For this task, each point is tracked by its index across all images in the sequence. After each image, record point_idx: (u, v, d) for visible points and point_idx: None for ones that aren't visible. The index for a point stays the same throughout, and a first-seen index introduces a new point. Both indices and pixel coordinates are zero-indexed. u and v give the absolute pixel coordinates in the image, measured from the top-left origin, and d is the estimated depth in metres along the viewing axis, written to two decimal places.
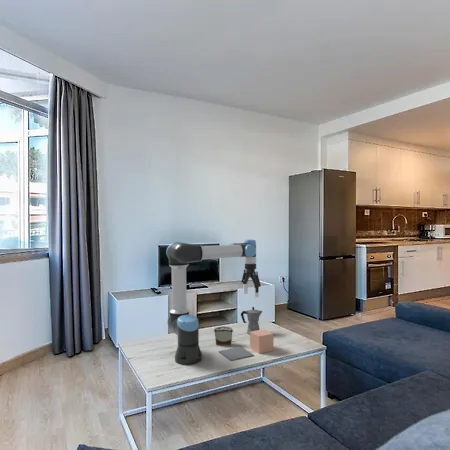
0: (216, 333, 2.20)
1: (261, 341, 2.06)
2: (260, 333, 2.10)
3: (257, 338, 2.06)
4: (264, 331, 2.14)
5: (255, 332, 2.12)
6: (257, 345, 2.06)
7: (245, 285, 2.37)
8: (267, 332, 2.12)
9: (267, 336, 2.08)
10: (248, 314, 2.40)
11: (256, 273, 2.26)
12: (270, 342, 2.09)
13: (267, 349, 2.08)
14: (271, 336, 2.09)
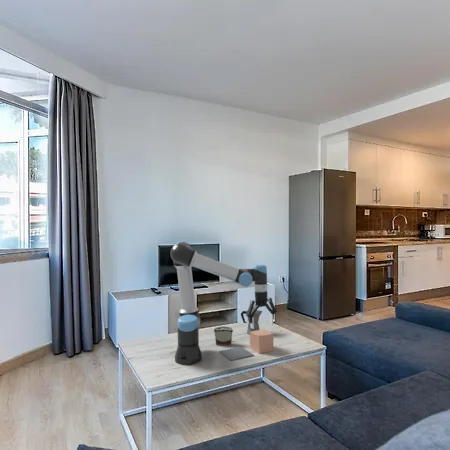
0: (216, 333, 2.20)
1: (261, 341, 2.06)
2: (260, 333, 2.10)
3: (257, 338, 2.06)
4: (264, 331, 2.14)
5: (255, 332, 2.12)
6: (257, 345, 2.06)
7: (270, 315, 2.15)
8: (267, 332, 2.12)
9: (267, 336, 2.08)
10: None
11: (251, 302, 2.08)
12: (270, 342, 2.09)
13: (267, 349, 2.08)
14: (271, 336, 2.09)
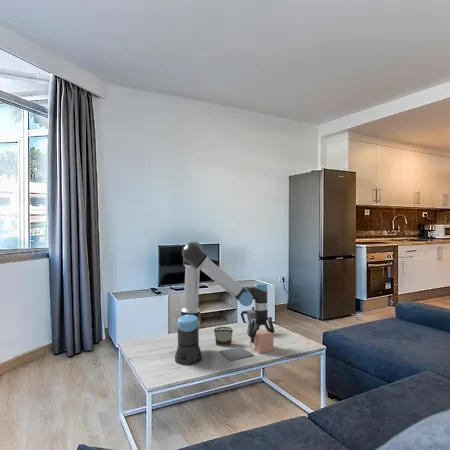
0: (216, 333, 2.20)
1: (261, 341, 2.06)
2: (260, 333, 2.10)
3: (257, 338, 2.06)
4: (264, 331, 2.14)
5: None
6: (257, 345, 2.06)
7: None
8: (267, 332, 2.12)
9: (267, 336, 2.08)
10: (248, 314, 2.40)
11: (252, 322, 2.08)
12: (270, 342, 2.09)
13: (267, 349, 2.08)
14: (271, 336, 2.09)
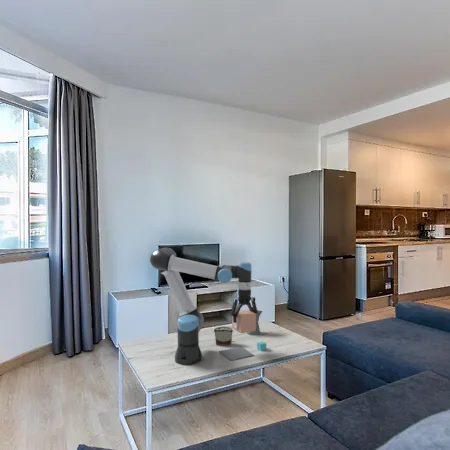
0: (216, 333, 2.20)
1: (244, 320, 2.02)
2: (243, 313, 2.06)
3: (239, 317, 2.02)
4: (247, 311, 2.10)
5: None
6: (239, 325, 2.02)
7: None
8: (250, 312, 2.08)
9: (250, 316, 2.03)
10: None
11: (234, 301, 2.04)
12: (252, 322, 2.04)
13: (249, 329, 2.04)
14: (254, 316, 2.05)
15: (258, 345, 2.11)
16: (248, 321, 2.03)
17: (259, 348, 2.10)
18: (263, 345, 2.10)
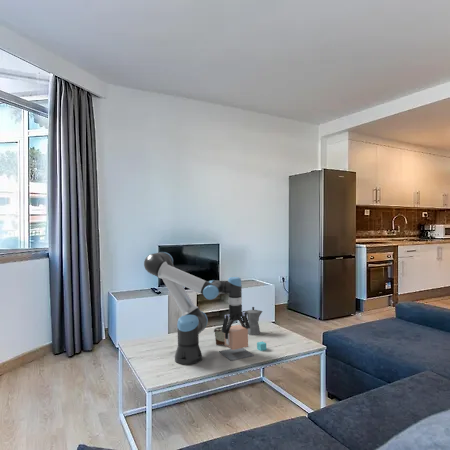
0: (216, 333, 2.20)
1: (235, 337, 1.99)
2: (234, 329, 2.03)
3: (231, 334, 1.99)
4: (239, 327, 2.07)
5: None
6: (231, 341, 1.99)
7: None
8: (242, 328, 2.05)
9: (241, 332, 2.01)
10: (248, 314, 2.40)
11: (225, 317, 2.01)
12: (244, 338, 2.02)
13: (241, 345, 2.01)
14: (245, 332, 2.02)
15: (258, 345, 2.11)
16: (240, 337, 2.00)
17: (259, 348, 2.10)
18: (263, 345, 2.10)
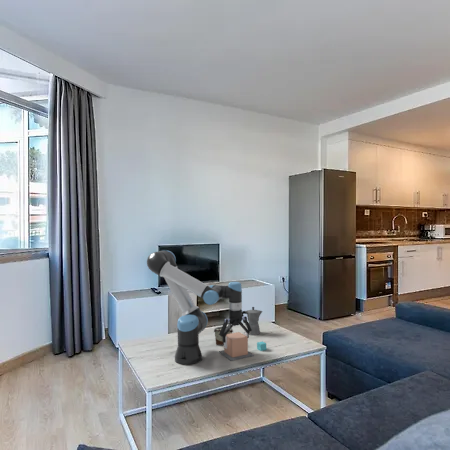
0: (216, 333, 2.20)
1: (235, 344, 1.99)
2: (234, 336, 2.03)
3: (230, 341, 1.99)
4: (239, 334, 2.07)
5: (229, 335, 2.05)
6: (230, 349, 2.00)
7: (245, 334, 2.08)
8: (241, 335, 2.05)
9: (241, 339, 2.01)
10: (248, 314, 2.40)
11: (225, 321, 2.01)
12: (244, 345, 2.02)
13: (241, 352, 2.01)
14: (245, 339, 2.02)
15: (258, 345, 2.11)
16: (239, 345, 2.00)
17: (259, 348, 2.10)
18: (263, 345, 2.10)
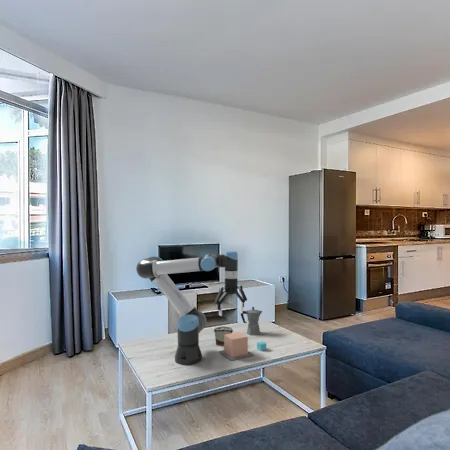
0: (216, 333, 2.20)
1: (235, 344, 1.99)
2: (234, 336, 2.03)
3: (230, 341, 1.99)
4: (239, 334, 2.07)
5: (229, 335, 2.05)
6: (230, 349, 2.00)
7: (240, 303, 2.09)
8: (241, 335, 2.05)
9: (241, 339, 2.01)
10: (248, 314, 2.40)
11: (220, 289, 2.03)
12: (244, 345, 2.02)
13: (241, 352, 2.01)
14: (245, 339, 2.02)
15: (258, 345, 2.11)
16: (239, 345, 2.00)
17: (259, 348, 2.10)
18: (263, 345, 2.10)
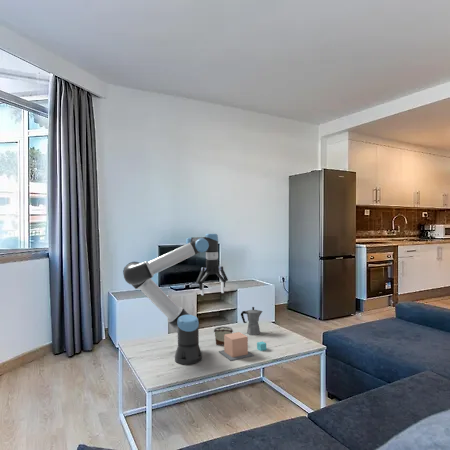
0: (216, 333, 2.20)
1: (235, 344, 1.99)
2: (234, 336, 2.03)
3: (230, 341, 1.99)
4: (239, 334, 2.07)
5: (229, 335, 2.05)
6: (230, 349, 2.00)
7: (221, 283, 2.19)
8: (241, 335, 2.05)
9: (241, 339, 2.01)
10: (248, 314, 2.40)
11: (202, 269, 2.12)
12: (244, 345, 2.02)
13: (241, 352, 2.01)
14: (245, 339, 2.02)
15: (258, 345, 2.11)
16: (239, 345, 2.00)
17: (259, 348, 2.10)
18: (263, 345, 2.10)
